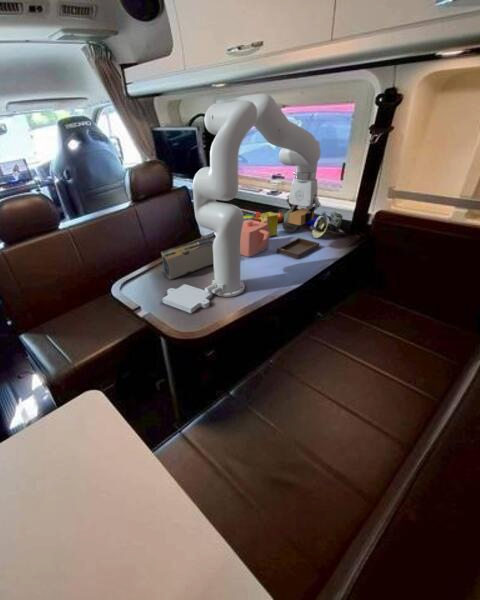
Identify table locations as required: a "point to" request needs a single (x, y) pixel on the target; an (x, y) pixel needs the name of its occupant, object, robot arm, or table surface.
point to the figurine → (311, 223)
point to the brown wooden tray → (298, 248)
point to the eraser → (282, 211)
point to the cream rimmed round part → (325, 226)
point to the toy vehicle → (336, 219)
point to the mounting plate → (187, 298)
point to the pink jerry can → (254, 237)
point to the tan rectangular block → (299, 216)
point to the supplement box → (271, 222)
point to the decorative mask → (258, 217)
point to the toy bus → (187, 258)
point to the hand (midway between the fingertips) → (301, 220)
